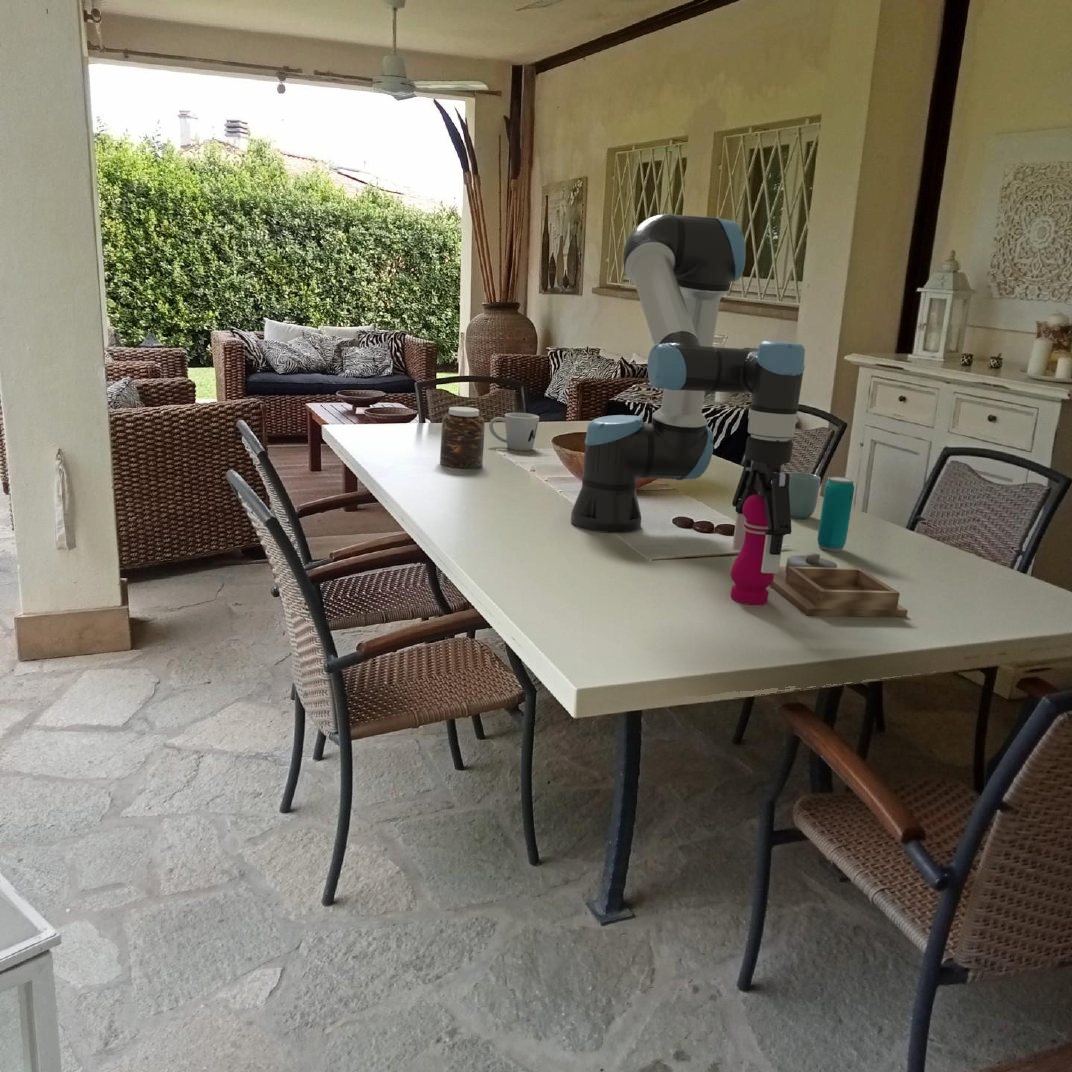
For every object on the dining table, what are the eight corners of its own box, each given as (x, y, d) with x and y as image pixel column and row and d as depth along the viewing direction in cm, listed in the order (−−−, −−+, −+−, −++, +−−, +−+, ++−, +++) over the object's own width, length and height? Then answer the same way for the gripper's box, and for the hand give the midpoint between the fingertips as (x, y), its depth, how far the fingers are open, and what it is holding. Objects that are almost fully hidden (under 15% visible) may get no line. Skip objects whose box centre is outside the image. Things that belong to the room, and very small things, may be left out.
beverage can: (844, 547, 211) (855, 478, 207) (843, 554, 205) (855, 483, 201) (817, 543, 212) (827, 474, 208) (815, 549, 207) (825, 479, 203)
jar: (491, 465, 271) (494, 410, 267) (466, 470, 261) (469, 413, 257) (456, 458, 277) (459, 404, 273) (430, 463, 267) (433, 407, 263)
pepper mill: (722, 591, 174) (736, 479, 169) (762, 593, 175) (778, 482, 170) (734, 605, 167) (749, 489, 162) (775, 606, 168) (792, 491, 163)
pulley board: (806, 615, 165) (810, 585, 163) (753, 572, 188) (756, 545, 186) (906, 616, 168) (911, 587, 166) (842, 573, 191) (846, 547, 189)
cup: (815, 522, 232) (822, 480, 229) (781, 518, 233) (787, 476, 231) (813, 515, 239) (819, 474, 237) (780, 511, 241) (786, 470, 238)
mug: (536, 452, 295) (539, 419, 292) (486, 448, 294) (488, 415, 292) (537, 446, 305) (539, 414, 302) (488, 443, 305) (490, 410, 302)
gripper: (824, 451, 153) (805, 583, 158) (763, 426, 176) (748, 542, 182) (778, 449, 151) (761, 582, 157) (723, 424, 175) (709, 541, 180)
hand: (754, 561), depth 169 cm, fingers open, 13 cm apart
